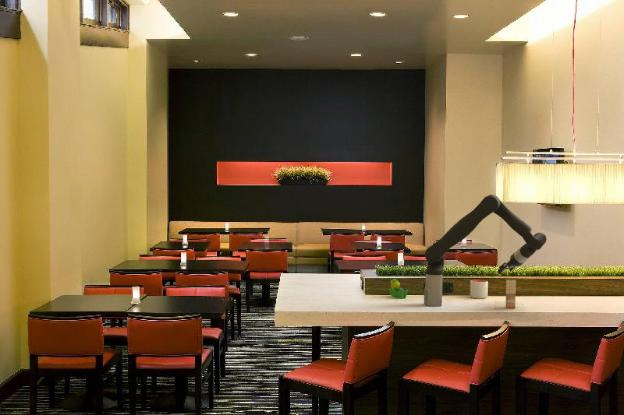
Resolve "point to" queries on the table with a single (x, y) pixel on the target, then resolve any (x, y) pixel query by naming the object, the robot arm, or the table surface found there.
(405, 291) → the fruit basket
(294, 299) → the table surface
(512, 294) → the block
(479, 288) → the cup
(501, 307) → the mat
